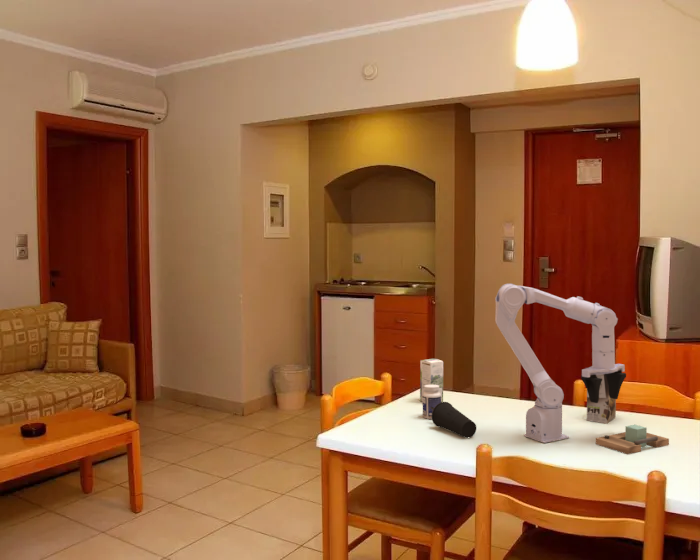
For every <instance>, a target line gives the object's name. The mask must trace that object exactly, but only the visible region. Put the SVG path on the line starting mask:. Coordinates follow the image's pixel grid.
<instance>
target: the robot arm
mask: <svg viewBox="0 0 700 560" xmlns="http://www.w3.org/2000/svg"><path fill="white" fill-rule="evenodd" d="M494 300H495V301H494V302H495V312H494V313H495V318H494V319H495V321H494V322H495V324H496V326H497V328H498V329H499V331H500V333H501V334H502V336H503V337H504V339H505V341H506V342H507V344H508V345H509V347H510V349H511V351H513V353H514V355H515V357H516V358H517V359H518V361H519V362H520V363H519V364H520V365H521V366H522V368H523V369H524V371H525V372H526V374H527V376H528V377H529V379H530V381H531V383H532V385H533V393H534V394H535V396H536V397H537V398H536V400H535V401H534V405H533V406H532V407H530V408H528V410H527V411H526V414H525V433H524V434H523V437H526V438H528V439H531V440H535V441H537V442H540V443H544V444H546V443H551V442H556V441H560V440H561V441H562V440H566V439H569V438H570V436H569V435H567V434H563V400H564V396H565V394H564V391H563V389H562V387H560V386H559V385H558V384H556V382H555V381H554V380H553V379H552V378H551V377H550V376H549V374H548V373H547V371H546V369H545V368H544V367H543V365H542V363H541V362H540V360H539V359H538V357H537V356H536V354H535V352H534V350H533V349H532V348H531V346H530V344H529V342H528V341H527V339H526V338H525V336H524V334H523V333H522V332H521V330H520V328H519V327H518V325H517V323H516V318H517V315H518V313H519V310H520V309H521V308H522V306H523V305H524V304H526V305H530V304H533V303H538V304H542V305H543V306H547V307H550V308H555V309H558V310H561V311H563V313H564V315H565V317H567V318H569V319H572V320H576V321H578V322H581V323H584V324H587V325H589V324H591V326H592V327H591V331H592V332H591V349H592V350H591V351H592V352H591V359H592V361H591V363H592V365H591V366H589V367H585V368H583V369H581V375H580V378H581V381H582V382H583V384H584V386H585V388H586V392H587V391H588V394H589V398H590V401H591V402H594V403H598V401H599V390H600V385H601V382H602V379H601V378H597V377H596V375H602V374H605V375H606V377H607V381H608V387H609V396H610V398H612V399H616V400H619V399H618V398H619V395H620V391H621V388H622V385H623V382H624V381H625V379H626V378H627V373H626V371H625V370H626V369H625V368H626V367H625V364H622V363H616V360H615V359H616V357H615V356H616V355H615V353H616V351H615V347H616V345H615V344H616V343H615V326H616V325H617V324H618V320H619V318H618V317H617V315H616V314H617V313H615V312H614V311H613V310H612V309H611V308H608V307H606V306H604V305H603V306H602V305H600V303H598V302H595V303H593V302H590V301H588V300H584V298H583V297H582V296H578V295H577V296H576V297H575V296H572V297H569V298H567V299H565V298H563V297H559V296H557V295H554V294H552V293H549V292H546V291H543V290H540V289H538V288H534V287H529V286H524V285H516V284H514V283H505V284H502V285H501V286H500V287H499V289H498V291H497V294H496V296H495V299H494Z"/></svg>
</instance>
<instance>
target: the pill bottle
mask: <svg viewBox="0 0 700 560" xmlns="http://www.w3.org/2000/svg"><path fill="white" fill-rule="evenodd" d="M424 390H425V392H424V393H423V402H422V417H423V418H424V419H426V418H427V419H426V420H432V411H433V410H432V409H431V407H433V408H435V406H436V405H437V404H439V403H441V394H440V393H439V385H425V386H424Z"/></svg>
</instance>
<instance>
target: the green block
mask: <svg viewBox="0 0 700 560" xmlns="http://www.w3.org/2000/svg"><path fill="white" fill-rule="evenodd" d="M647 429H648V428H647V426H646V427H645V426H641V425H637V424H630V425H626V426H625V431H624V432H625V440H626V441H629V442H633V443H634V441H637V440H641V439H646V434H647V433H648V432H647ZM640 445H641V447H642V448H645V446H646V447H647V445H646V443H642V444H640Z"/></svg>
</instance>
